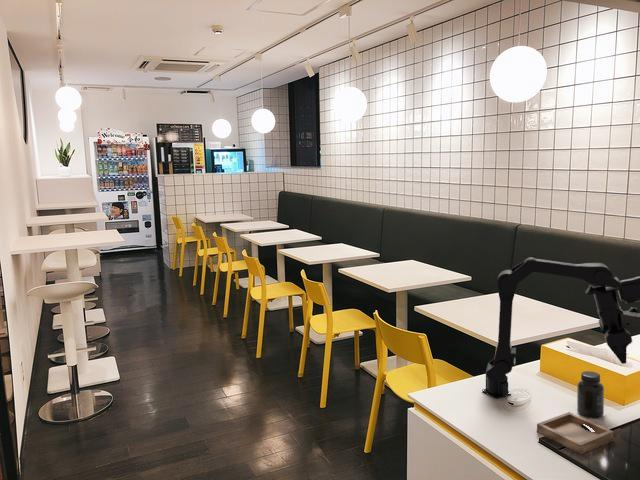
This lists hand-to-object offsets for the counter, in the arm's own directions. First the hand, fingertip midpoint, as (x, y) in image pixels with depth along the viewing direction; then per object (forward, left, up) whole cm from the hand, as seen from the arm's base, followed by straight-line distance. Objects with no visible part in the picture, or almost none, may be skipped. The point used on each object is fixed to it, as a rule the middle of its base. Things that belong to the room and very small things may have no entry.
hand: (621, 357), depth 148 cm
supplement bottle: (-2, -10, -16) cm, 19 cm away
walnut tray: (+4, -25, -15) cm, 30 cm away
